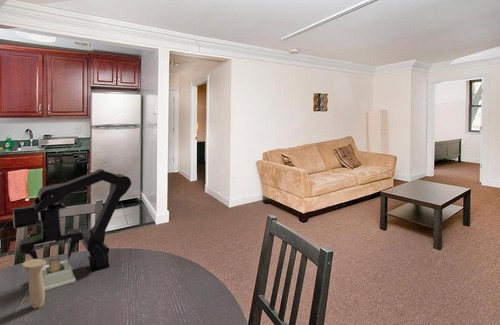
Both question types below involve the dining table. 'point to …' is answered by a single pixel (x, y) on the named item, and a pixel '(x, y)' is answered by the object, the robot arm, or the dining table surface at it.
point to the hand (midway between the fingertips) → (53, 261)
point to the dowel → (54, 264)
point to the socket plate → (57, 276)
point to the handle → (35, 281)
